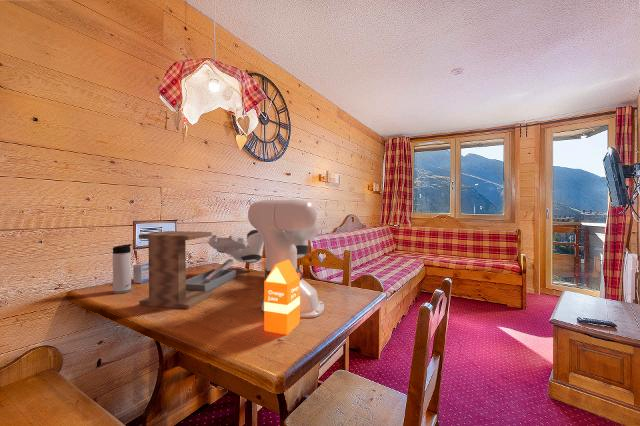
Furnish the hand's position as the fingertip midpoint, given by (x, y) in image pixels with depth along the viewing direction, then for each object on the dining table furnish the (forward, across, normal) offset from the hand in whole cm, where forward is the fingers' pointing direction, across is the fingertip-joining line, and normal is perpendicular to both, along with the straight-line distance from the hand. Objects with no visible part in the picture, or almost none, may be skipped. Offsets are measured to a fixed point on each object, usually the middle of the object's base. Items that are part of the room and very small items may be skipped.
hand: (221, 236), depth 140 cm
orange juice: (+31, -47, -43) cm, 71 cm away
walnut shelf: (+18, 0, -35) cm, 39 cm away
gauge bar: (-8, 0, -16) cm, 18 cm away
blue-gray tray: (-1, 0, -24) cm, 24 cm away
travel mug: (+14, +30, -32) cm, 46 cm away
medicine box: (0, +34, -24) cm, 42 cm away
